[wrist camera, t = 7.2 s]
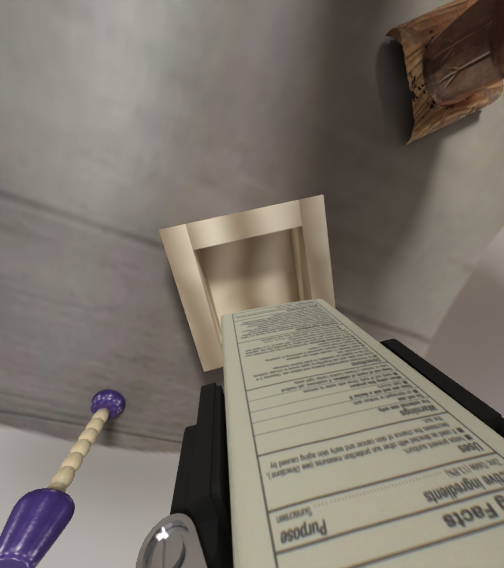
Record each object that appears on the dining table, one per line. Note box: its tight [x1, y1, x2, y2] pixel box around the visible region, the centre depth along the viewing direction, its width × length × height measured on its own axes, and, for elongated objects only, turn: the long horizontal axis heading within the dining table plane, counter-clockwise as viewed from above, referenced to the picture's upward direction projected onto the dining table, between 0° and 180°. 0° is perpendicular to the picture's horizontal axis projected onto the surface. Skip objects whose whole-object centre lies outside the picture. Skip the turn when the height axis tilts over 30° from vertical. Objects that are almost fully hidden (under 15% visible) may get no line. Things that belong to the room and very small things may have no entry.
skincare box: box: [221, 299, 504, 568], centre depth 8 cm, size 6×4×12 cm
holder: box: [159, 195, 336, 372], centre depth 28 cm, size 16×16×6 cm
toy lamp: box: [0, 390, 125, 568], centre depth 25 cm, size 5×5×17 cm
